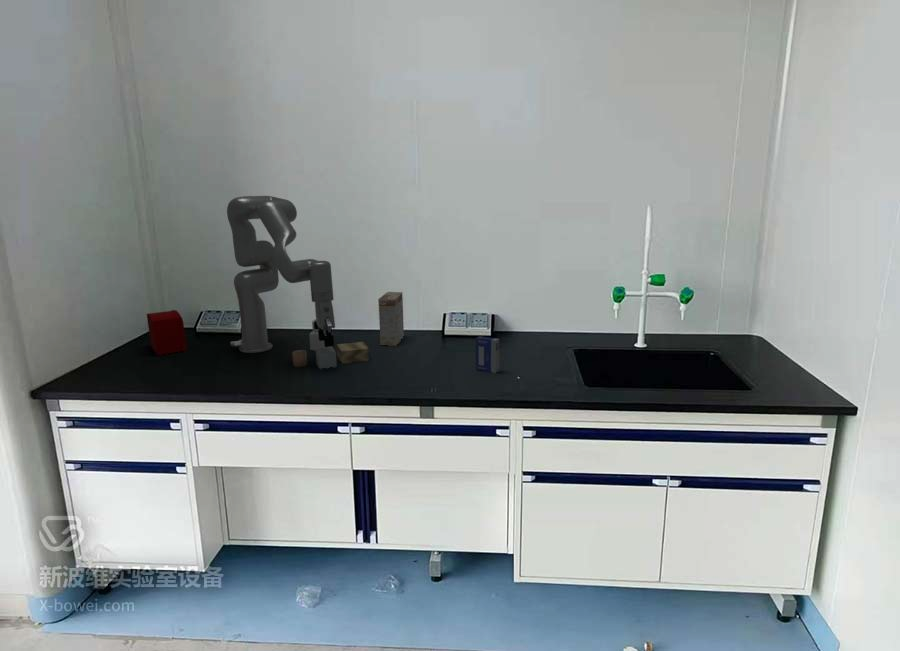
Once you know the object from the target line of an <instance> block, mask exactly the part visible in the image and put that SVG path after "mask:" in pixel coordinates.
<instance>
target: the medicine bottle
mask: <svg viewBox="0 0 900 651" xmlns="http://www.w3.org/2000/svg"><path fill="white" fill-rule="evenodd" d="M311 323H312V331H311V332H310V333H309V334H308V335H309V348H310V351H311V350H313V351H312V352H316V349H320V348H328V347H325V345H324V341H319V335H318V325H317V322H316V318H315V319H313V320H312V321H311ZM331 347H332V348H333V346H331Z"/></svg>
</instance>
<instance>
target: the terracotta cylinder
mask: <svg viewBox="0 0 900 651" xmlns="http://www.w3.org/2000/svg"><path fill="white" fill-rule="evenodd" d="M307 353H308V352H307V350H305V349H297V350H294V351H292V352H291V354H292V364H293V365H294V366H299V367H298V368H301V367H300V366H304V367H306V366H305V365H307V366H308V357H307V356H308V354H307ZM294 366H293V367H294Z"/></svg>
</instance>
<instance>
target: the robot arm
mask: <svg viewBox="0 0 900 651" xmlns="http://www.w3.org/2000/svg"><path fill="white" fill-rule="evenodd" d="M226 213H227V214H226V216H227V219H228V220H227V221H228V223H229V226H230V229H231V234H232V242H233V251H234V257H235V258H234V259H235V263H237V265H238V266H239V267H243V268H244V267H245V268H249V267H256V266H259V268H253V269H247V270H243V271H240V272H238V273H237V274H236V275H235V277H234V278H233V285H234V286H233V287H234V291H235V292H236V297H237V301H238V308H239V316H240V328H241V329H240V330H241V336H242V337H241V338H240V339H238V340H236V341H235V340H232V341H230V346H231V347H234V348H237V347H238V349H239V352H242V353H246V354H254V353H255V354H256V353H262V352H267V351H270V350H272V348H273V344H272V342H269V339H268V327H267V318H266V317H267V316H266V306H265V303H264V300H263V299H262V298H261V296H260V295H259V294H262V293H268V292H272V291H274V290H276V289H277V288H278V286H279V281H280V280H279V279H280V278H279V276H282V278H283V279H284V280H285V281H286V282H288V283H291V284H297V283H302V282H310V284H309V286H310V296H311V302H312V303H314V311H315V319H316V322H317V325H318V335H319V341H324V345H325V347H331V346H332V347H334V346H335V345H334V344H335V341H334V332H333V329H335V328H336V322H335V315H334V307H333V301H334V290H333V288H334V287H333V277H332V274H333V273H332V266H331V263H330V262H329V261H327V260H317V259H313V258H305V259H301V260H291V258H290V257H289V255H288V253H287V249H286V247H287V246H289V245H290V244H291V243H292V242H293V241H294V240H296V238H297V231H296V229H295V228H294V226H293V225H292V223H293V222H294V221H295V220H296V219H297V216H298V212H297V208H296V206H295V204H294V203H293V202H292V201H290V200H288V199H285V198H281V197H276V196H273V195H272V196H271V195H243V196H238V197H235V198H233V199H231V200H230V201H229V202H228V204H227V207H226ZM250 220H260V221H261V223H262V225H263V226H264V228H265V229H266V231H267V233H268V234H269V236H270V238H271V239H272V241H273V242H274V245H273V244H272V242H270V241H268V240H257V234H256V229H255V226H254V225H253V224H252V222H251V221H250ZM279 274H280V275H279Z"/></svg>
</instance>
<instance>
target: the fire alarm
mask: <svg viewBox="0 0 900 651" xmlns="http://www.w3.org/2000/svg"><path fill="white" fill-rule="evenodd" d="M146 319H147V326H148V327H147V328H148V332H149V338H150V345H151V346H152V347H151V348H153V349H154V350H153V349H152V350H153V352H154V351H155V352H156V353H155V352H154V353H155V355H156V354H157V355H160V354H166V353H172V354H174V353H173V352H178V353H181V352H180V351H186V352H187V341H186V331H185V326H184V320H183V317H182V316H181V313H180V312H178V311H177V310H175V309H171V310H168V311H159V312H151V313H146ZM157 355H156V356H157ZM166 355H167V354H166ZM160 356H161V355H160Z"/></svg>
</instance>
